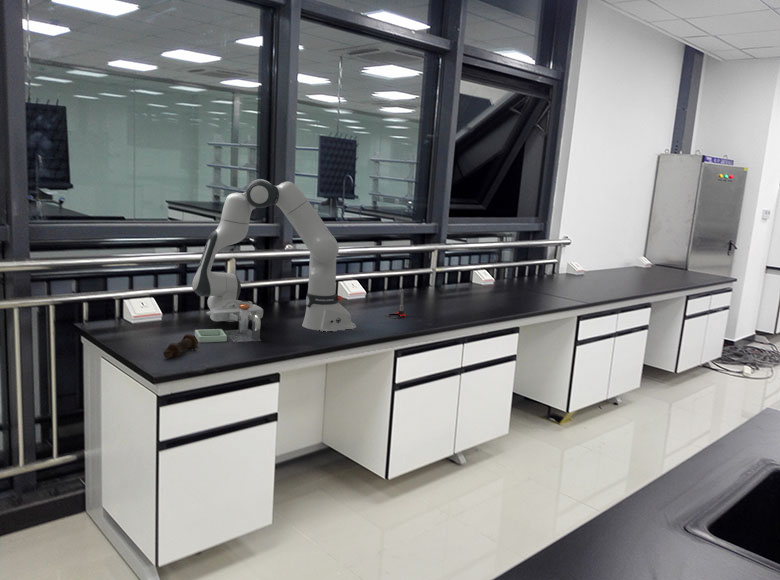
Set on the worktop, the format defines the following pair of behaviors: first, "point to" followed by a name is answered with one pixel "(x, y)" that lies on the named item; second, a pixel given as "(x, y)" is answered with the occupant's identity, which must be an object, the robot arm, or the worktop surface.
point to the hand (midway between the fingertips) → (244, 318)
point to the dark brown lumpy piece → (181, 346)
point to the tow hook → (401, 306)
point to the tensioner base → (251, 335)
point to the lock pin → (243, 318)
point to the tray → (203, 338)
